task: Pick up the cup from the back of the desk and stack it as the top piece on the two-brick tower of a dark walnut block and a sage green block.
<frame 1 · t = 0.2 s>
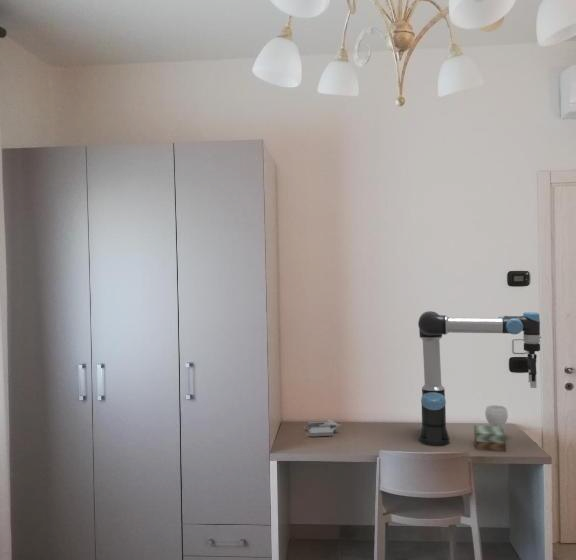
hand: (532, 385, 255), 28 cm above the table, tool pointing down, fingers open, 13 cm apart
spaceship toy: (322, 434, 273), on the table
tower base: (489, 446, 246), on the table
cup: (496, 436, 261), on the table
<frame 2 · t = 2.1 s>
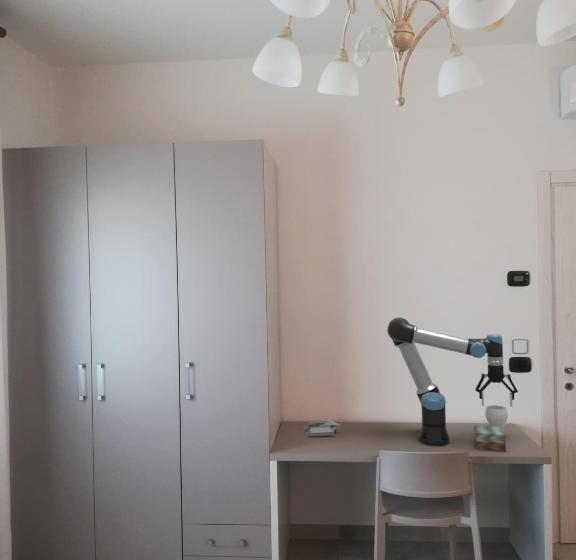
hand: (496, 405, 261), 16 cm above the table, tool pointing down, fingers open, 13 cm apart
nothing on the table moved.
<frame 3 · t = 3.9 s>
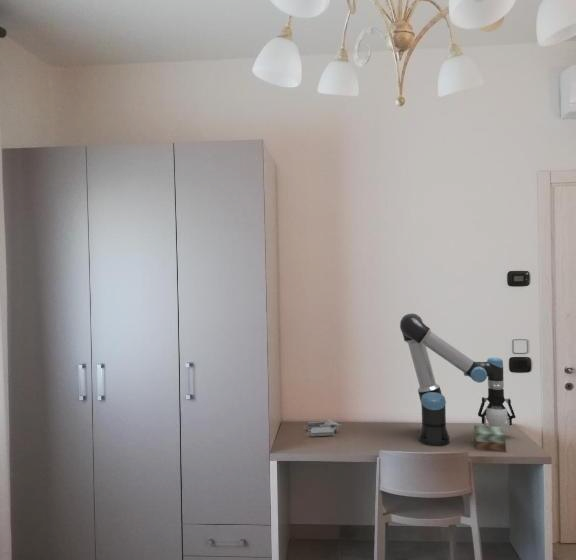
hand: (496, 430, 261), 3 cm above the table, tool pointing down, fingers closed on cup, 11 cm apart
cup: (496, 436, 261), on the table, touching gripper
everything else where it was.
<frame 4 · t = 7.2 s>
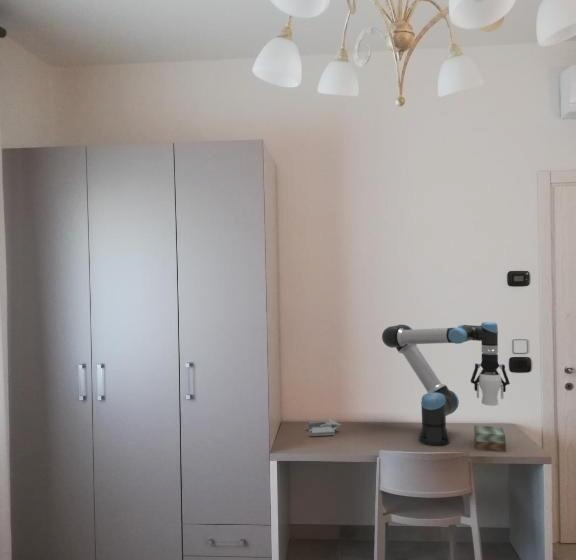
hand: (489, 397, 251), 23 cm above the table, tool pointing down, fingers closed on cup, 11 cm apart
cup: (489, 404, 251), point 19 cm above the table, touching gripper
everything else where it was.
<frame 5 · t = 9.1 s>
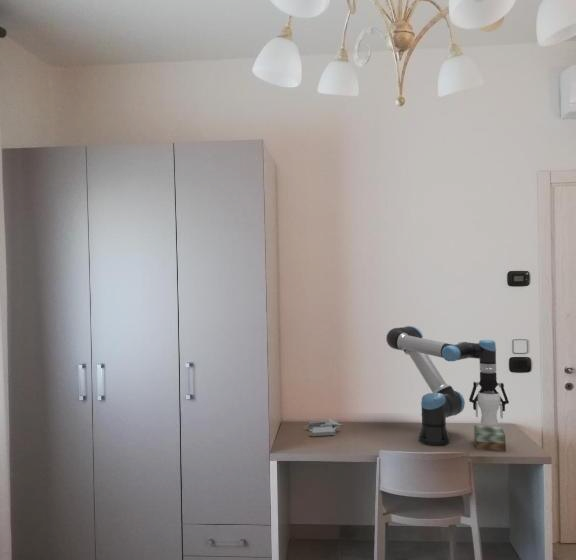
hand: (489, 417, 246), 14 cm above the table, tool pointing down, fingers closed on cup, 11 cm apart
cup: (489, 423, 246), point 11 cm above the table, touching gripper
when the fingers open (12 cm above the table, at t = 10.5 s): cup drops 1 cm, resting on tower base.
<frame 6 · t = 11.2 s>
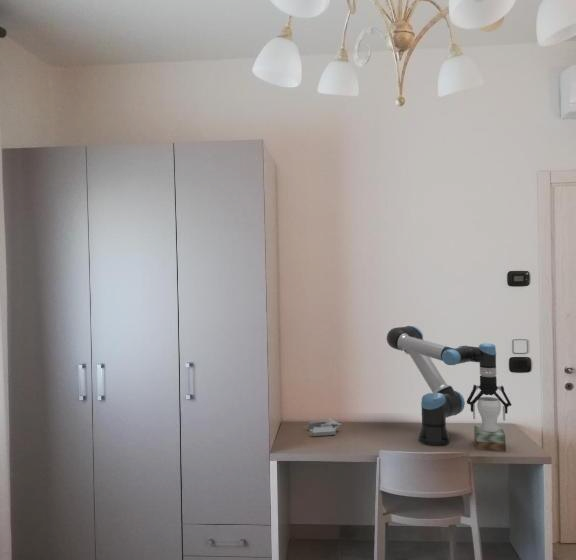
hand: (489, 419, 246), 13 cm above the table, tool pointing down, fingers open, 13 cm apart
cup: (489, 430, 246), point 8 cm above the table, touching tower base
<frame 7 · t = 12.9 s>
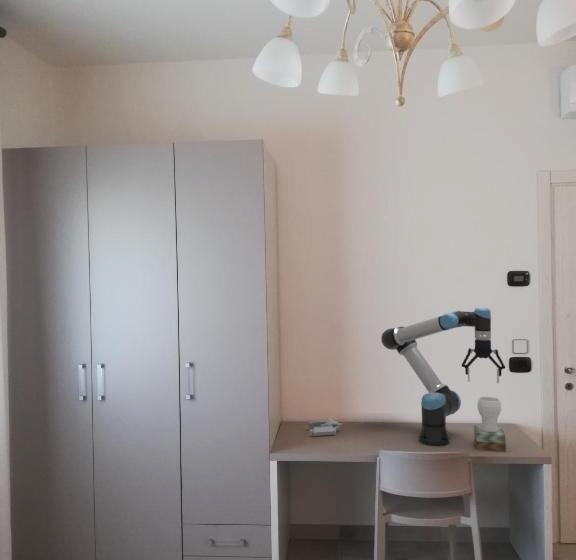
hand: (483, 381, 251), 30 cm above the table, tool pointing down, fingers open, 13 cm apart
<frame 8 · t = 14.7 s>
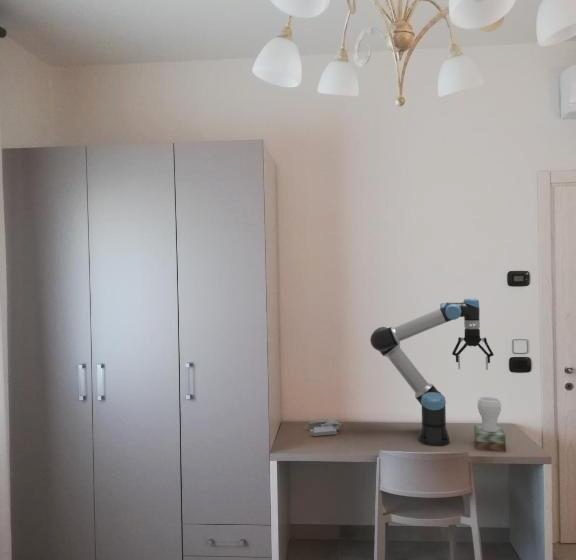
hand: (472, 369, 263), 35 cm above the table, tool pointing down, fingers open, 13 cm apart
at the end: cup 0.2 cm off-centre on the tower base, point 7.8 cm above the tower base's base; cup tilted 0° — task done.
